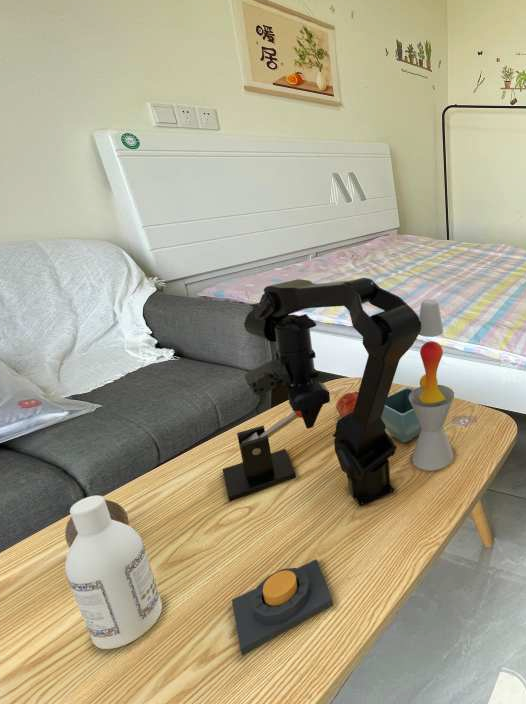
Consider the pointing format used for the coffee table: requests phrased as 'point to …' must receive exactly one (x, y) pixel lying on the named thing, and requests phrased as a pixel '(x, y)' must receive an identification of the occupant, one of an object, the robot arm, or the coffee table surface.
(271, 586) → the button
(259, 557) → the coffee table surface
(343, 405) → the pomegranate
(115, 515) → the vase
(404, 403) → the flower pot
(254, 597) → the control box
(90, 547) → the bath foam
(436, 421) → the lava lamp
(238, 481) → the bracket
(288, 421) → the lever
